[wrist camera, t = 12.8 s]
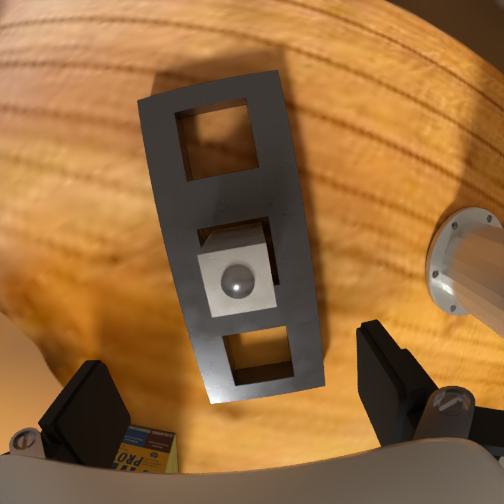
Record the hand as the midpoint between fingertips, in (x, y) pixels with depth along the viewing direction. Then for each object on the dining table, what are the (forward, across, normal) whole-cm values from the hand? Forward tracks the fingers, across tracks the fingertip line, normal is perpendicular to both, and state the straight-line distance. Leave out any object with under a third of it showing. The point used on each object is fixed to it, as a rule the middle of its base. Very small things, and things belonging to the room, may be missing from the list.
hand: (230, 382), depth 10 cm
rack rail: (+20, 0, 0) cm, 20 cm away
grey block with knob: (+20, 0, 0) cm, 20 cm away
